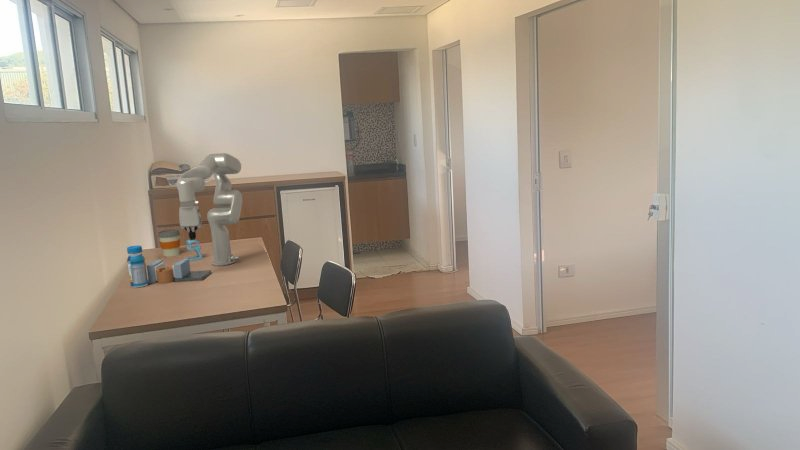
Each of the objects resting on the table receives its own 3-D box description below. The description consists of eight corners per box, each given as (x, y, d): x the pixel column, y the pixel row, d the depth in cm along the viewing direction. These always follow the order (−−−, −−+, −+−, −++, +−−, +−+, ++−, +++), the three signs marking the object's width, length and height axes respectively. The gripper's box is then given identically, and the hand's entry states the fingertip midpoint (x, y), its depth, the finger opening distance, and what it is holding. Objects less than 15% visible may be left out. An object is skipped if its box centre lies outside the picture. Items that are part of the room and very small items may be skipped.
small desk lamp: (203, 258, 367) (201, 239, 365) (189, 261, 363) (187, 241, 361) (200, 257, 374) (197, 237, 372) (186, 259, 369) (183, 239, 367)
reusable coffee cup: (174, 252, 394) (171, 229, 391) (186, 253, 386) (183, 230, 384) (156, 256, 384) (153, 232, 381) (168, 258, 376) (165, 233, 374)
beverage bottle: (140, 288, 304) (134, 248, 301) (126, 287, 307) (121, 248, 304) (152, 283, 312) (147, 245, 309) (139, 283, 315) (133, 244, 312)
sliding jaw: (190, 271, 327) (188, 258, 326) (182, 277, 314) (180, 264, 313) (182, 272, 327) (180, 259, 326) (173, 278, 314) (171, 265, 313)
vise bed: (211, 272, 328) (210, 270, 328) (201, 280, 313) (201, 277, 312) (185, 274, 329) (185, 271, 328) (174, 282, 313) (174, 279, 313)
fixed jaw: (166, 276, 327) (164, 259, 326) (157, 282, 314) (155, 265, 313) (158, 276, 327) (156, 260, 326) (148, 283, 314) (146, 265, 313)
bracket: (171, 283, 311) (169, 270, 310) (155, 284, 311) (153, 271, 310) (183, 274, 329) (182, 262, 328) (168, 275, 329) (166, 263, 328)
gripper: (205, 201, 318) (209, 236, 322) (176, 203, 318) (180, 238, 322) (200, 204, 311) (205, 240, 314) (170, 206, 311) (175, 242, 314)
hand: (192, 239), depth 318 cm, fingers closed
